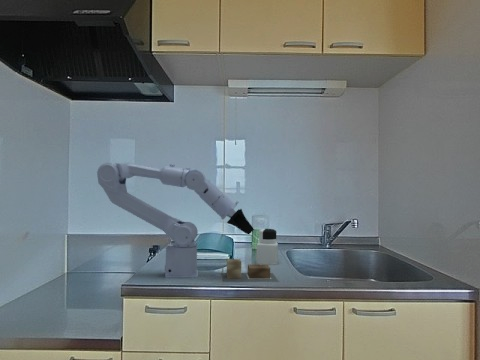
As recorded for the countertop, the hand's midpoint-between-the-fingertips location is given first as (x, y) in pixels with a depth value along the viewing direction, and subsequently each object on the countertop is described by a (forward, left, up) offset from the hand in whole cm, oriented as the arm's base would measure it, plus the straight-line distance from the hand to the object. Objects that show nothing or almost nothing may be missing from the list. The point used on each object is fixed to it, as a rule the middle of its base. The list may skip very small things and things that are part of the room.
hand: (250, 231), depth 141 cm
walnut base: (+3, 0, -13) cm, 13 cm away
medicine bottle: (+9, +23, -14) cm, 28 cm away
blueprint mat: (0, -1, -14) cm, 14 cm away
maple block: (-5, -1, -13) cm, 14 cm away
